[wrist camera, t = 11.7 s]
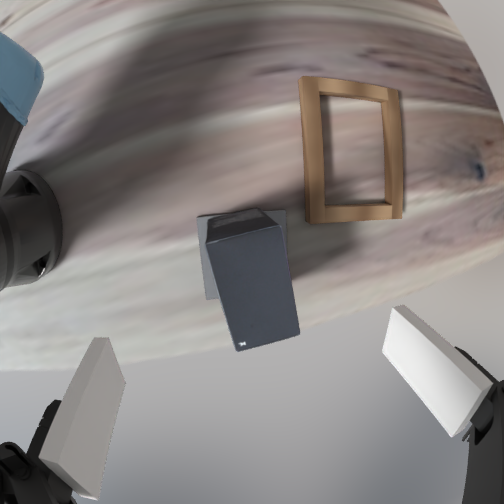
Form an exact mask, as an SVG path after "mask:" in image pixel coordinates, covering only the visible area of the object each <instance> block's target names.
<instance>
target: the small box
mask: <svg viewBox="0 0 504 504" xmlns="http://www.w3.org/2000/svg"><path fill="white" fill-rule="evenodd" d="M206 234H207V236H206V241H205V249H206V253H207V257H208V260H209V264H210V268H211V271H212V275H213V278H214V281H215V285H216V289H217V292H218V296H219V299H220V302H221V305H222V309H223V312H224V315H225V318H226V322H227V325H228V329H229V331H230V335H231V338H232V341H233V344H234V347H235V350H236V351H237V352H240V351H244V350H248V349H252V348H255V347H260V346H263V345H266V344H270V343H274V342H277V341H281V340H285V339H288V338H291V337H295V336H298V335H300V329H299V323H298V317H297V311H296V305H295V299H294V293H293V288H292V282H291V276H290V270H289V265H288V259H287V254H286V248H285V243H284V237H283V232H282V227H281V226H280V225H279V224H278V223H276V222H275V221H274V220H273V219H272V218H270V217H269V216H268V215H267V214H266V213H264V212H263V211H262V210H261V209H260V208H254V209H249V210H245V211H241V212H237V213H232V214H228V215H224V216H220V217H216V218H212V219H208V220H207V233H206Z"/></svg>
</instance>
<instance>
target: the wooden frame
mask: <svg viewBox="0 0 504 504" xmlns="http://www.w3.org/2000/svg"><path fill="white" fill-rule="evenodd" d="M298 83H299V95H300V108H301V122H302V137H303V156H304V180H305V221H306V222H308V223H309V224H319V223H334V222H349V221H366V220H384V219H402V207H403V148H402V130H401V117H400V106H399V97H398V90H395V89H390V88H386V87H381V86H376V85H370V84H365V83H359V82H352V81H346V80H338V79H330V78H320V77H309V76H302V77H301V78H300V79H299V80H298ZM319 95H326V96H336V97H345V98H353V99H361V100H368V101H374V102H380V103H381V108H382V120H383V134H384V155H385V203H379V204H346V205H325V191H324V158H323V138H322V122H321V109H320V97H319Z"/></svg>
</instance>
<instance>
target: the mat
mask: <svg viewBox="0 0 504 504" xmlns="http://www.w3.org/2000/svg"><path fill="white" fill-rule="evenodd" d="M263 212H264V213H266V214H267V215H268V216H269V217H270V218H272V219H273V220H274V221H275V222H276V223H278V224H279V225H280V226H281V227H282V232H283V237H284V243H285V248H286V254H287V230H286V210H273V211H263ZM224 215H228V214H223V215H212V216H201V217H197V227H198V237H199V246H200V254H201V263H202V271H203V279H204V286H205V294H206V300H210V299H219V296H218V292H217V289H216V285H215V281H214V278H213V275H212V271H211V268H210V264H209V260H208V257H207V253H206V249H205V241H206V236H207V234H206V233H207V220H208V219H212V218H216V217H220V216H224Z"/></svg>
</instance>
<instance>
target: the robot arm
mask: <svg viewBox="0 0 504 504" xmlns="http://www.w3.org/2000/svg"><path fill="white" fill-rule="evenodd" d="M43 80H44V72H43V68H42V66H41V64H40V63H39V61H38V60H37V59H36V58H35V57H33V56H32V55H31V54H30V53H29V52H27V51H26V50H25V49H24V48H23V47H21V46H20V45H19V44H17V43H16V42H15V41H13V40H12V39H10V38H9V37H7V36H6V35H5V34H3V33H2V32H0V291H1V290H2V289H4V288H5V287H11V286H18V285H24V284H30V283H33V282H35V281H37V280H39V279H40V278H41V277H43V276H44V275H45V274H46V273H48V272H49V271H50V270H51V269H52V267H53V266H54V264H55V263H56V261H57V258H58V256H59V253H60V249H61V243H62V221H61V215H60V210H59V207H58V204H57V201H56V199H55V196H54V194H53V192H52V191H51V189H50V187H49V186H48V185H47V183H46V182H45V181H44V180H43V179H42V178H41V177H40V176H38V175H37V174H35V173H33V172H30V171H26V170H19V171H11V172H7V173H6V170H7V167H8V164H9V161H10V158H11V156H12V153H13V150H14V148H15V145H16V143H17V140H18V138H19V135H20V133H21V131H22V129H23V126H26V124H27V122H28V119H27V117H28V115H29V113H30V110H31V108H32V106H33V104H34V102H35V99H36V97H37V95H38V93H39V91H40V89H41V87H42V84H43ZM382 352H383V354H384V355H385V356H386V357H387V358H388V360H389V361H390V362H391V363H392V364H393V365H394V367H395V368H396V369H397V370H398V372H399V373H400V374H401V375H402V376H403V378H404V379H405V380H406V381H407V382H408V384H409V385H410V386H411V387H412V389H413V390H414V391H415V392H416V393H417V395H418V396H419V397H420V398H421V400H422V401H423V402H424V403H425V405H426V406H427V407H428V408H429V409H430V411H431V412H432V413H433V415H434V416H435V417H436V418H437V420H438V421H439V422H440V424H441V425H442V426H443V427H444V429H445V430H446V431H447V433H448V434H449V435H450V436H451V437H453V436H455V435H456V434H458V433H459V432H461V431H462V430H464V428H465V427H466V425H467V424H468V423H469V421H471V422H472V426H471V427H470V428H469V430H468V431H467V433H466V434H465V435H464V437H463V439H462V441H464V440H465V439H466V438H467V437H468V435H469V434H470V437H469V438H468V440H467V442H469V456H468V467H467V475H466V483H465V489H464V495H463V501H462V504H504V380H502V381H500V382H499V381H497V380H496V379H495V378H494V377H493V376H492V375H491V374H490V373H489V372H488V371H486V370H485V369H484V368H483V367H482V366H481V365H480V364H477V361H475V360H474V359H472V357H471V356H470V355H469V354H468V353H466V352H465V351H464V350H462V349H459V348H457V347H453V346H452V345H451V344H450V343H449V342H447V341H446V340H445V339H444V338H443V337H441V335H440V334H438V333H437V332H436V331H435V330H434V329H433V328H431V327H430V326H429V325H428V324H427V323H425V322H424V321H423V320H422V319H421V318H419V317H418V316H417V315H416V314H415V313H413V312H412V311H411V310H410V309H408V308H407V307H406V306H405V305H401V306H396V307H392V312H391V316H390V321H389V326H388V330H387V334H386V338H385V342H384V346H383V350H382ZM125 384H126V382H125V380H124V377H123V375H122V372H121V370H120V367H119V364H118V362H117V359H116V356H115V354H114V351H113V348H112V345H111V342H110V339H109V338H94V339H93V341H92V342H91V344H90V346H89V348H88V350H87V352H86V353H85V355H84V357H83V359H82V361H81V363H80V365H79V367H78V369H77V371H76V373H75V375H74V377H73V379H72V381H71V383H70V385H69V387H68V389H67V391H66V393H65V395H64V398H63V400H62V401H61V400H54V401H53V402H52V403H51V404H50V405H49V406H48V407H47V408H46V410H45V412H44V414H43V416H42V419H41V421H40V423H39V427H37V430H36V432H35V434H34V437H33V439H32V441H31V444H30V446H29V449H28V451H27V454H25V452H24V451H23V450H22V449H21V448H20V447H19V446H18V445H17V444H15V443H13V442H4V443H2V444H1V445H0V504H77V503H76V501H75V499H74V498H73V497H72V496H71V495H72V490H74V491H75V492H76V493H77V494H78V495H80V496H82V497H86V498H90V499H95V500H99V495H100V490H101V484H102V478H103V474H104V469H105V464H106V459H107V454H108V449H109V445H110V441H111V437H112V433H113V429H114V425H115V421H116V417H117V413H118V409H119V406H120V402H121V398H122V395H123V391H124V387H125Z"/></svg>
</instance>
